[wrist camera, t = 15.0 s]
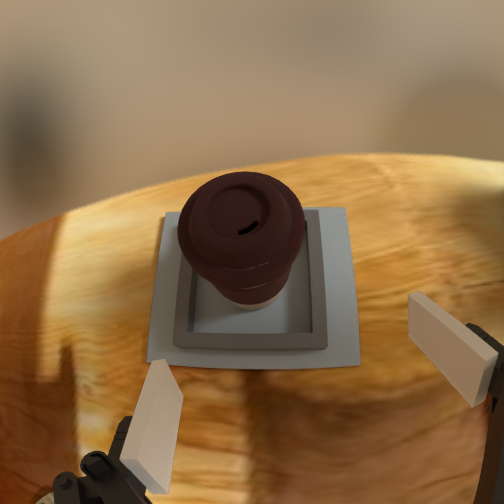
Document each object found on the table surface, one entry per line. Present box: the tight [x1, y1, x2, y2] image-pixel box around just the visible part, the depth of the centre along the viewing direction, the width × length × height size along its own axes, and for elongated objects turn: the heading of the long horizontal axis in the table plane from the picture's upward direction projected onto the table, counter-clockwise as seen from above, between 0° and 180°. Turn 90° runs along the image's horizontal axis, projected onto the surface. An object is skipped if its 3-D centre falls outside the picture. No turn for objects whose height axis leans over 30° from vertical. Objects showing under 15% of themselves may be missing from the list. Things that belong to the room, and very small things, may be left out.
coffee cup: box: [177, 171, 305, 310], centre depth 28 cm, size 10×10×15 cm
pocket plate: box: [146, 207, 361, 370], centre depth 35 cm, size 24×20×4 cm
